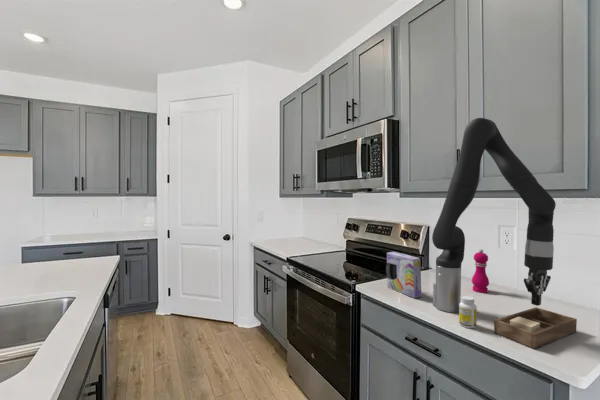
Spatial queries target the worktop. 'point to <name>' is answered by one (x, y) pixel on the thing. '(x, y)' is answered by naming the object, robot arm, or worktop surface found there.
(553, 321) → the divided wooden tray
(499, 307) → the worktop surface
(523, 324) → the block
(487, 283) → the pepper mill
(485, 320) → the worktop surface
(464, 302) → the supplement bottle
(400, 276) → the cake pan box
